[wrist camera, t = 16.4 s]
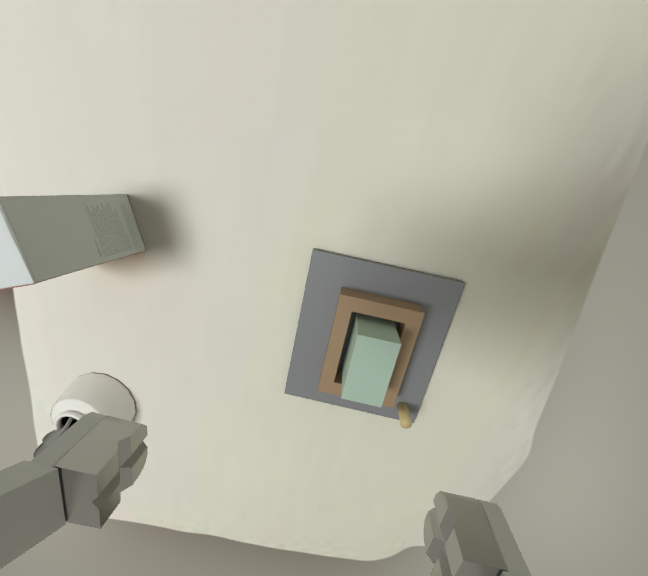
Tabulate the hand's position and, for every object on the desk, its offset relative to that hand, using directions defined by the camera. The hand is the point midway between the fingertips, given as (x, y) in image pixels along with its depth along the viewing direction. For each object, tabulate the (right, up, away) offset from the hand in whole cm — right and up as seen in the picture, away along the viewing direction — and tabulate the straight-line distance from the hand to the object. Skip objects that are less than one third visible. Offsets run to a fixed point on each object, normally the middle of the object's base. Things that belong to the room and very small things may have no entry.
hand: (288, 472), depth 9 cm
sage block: (+6, -1, +26) cm, 27 cm away
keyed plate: (+6, -1, +27) cm, 28 cm away
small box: (-23, +12, +26) cm, 37 cm away
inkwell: (-30, -14, +34) cm, 48 cm away
